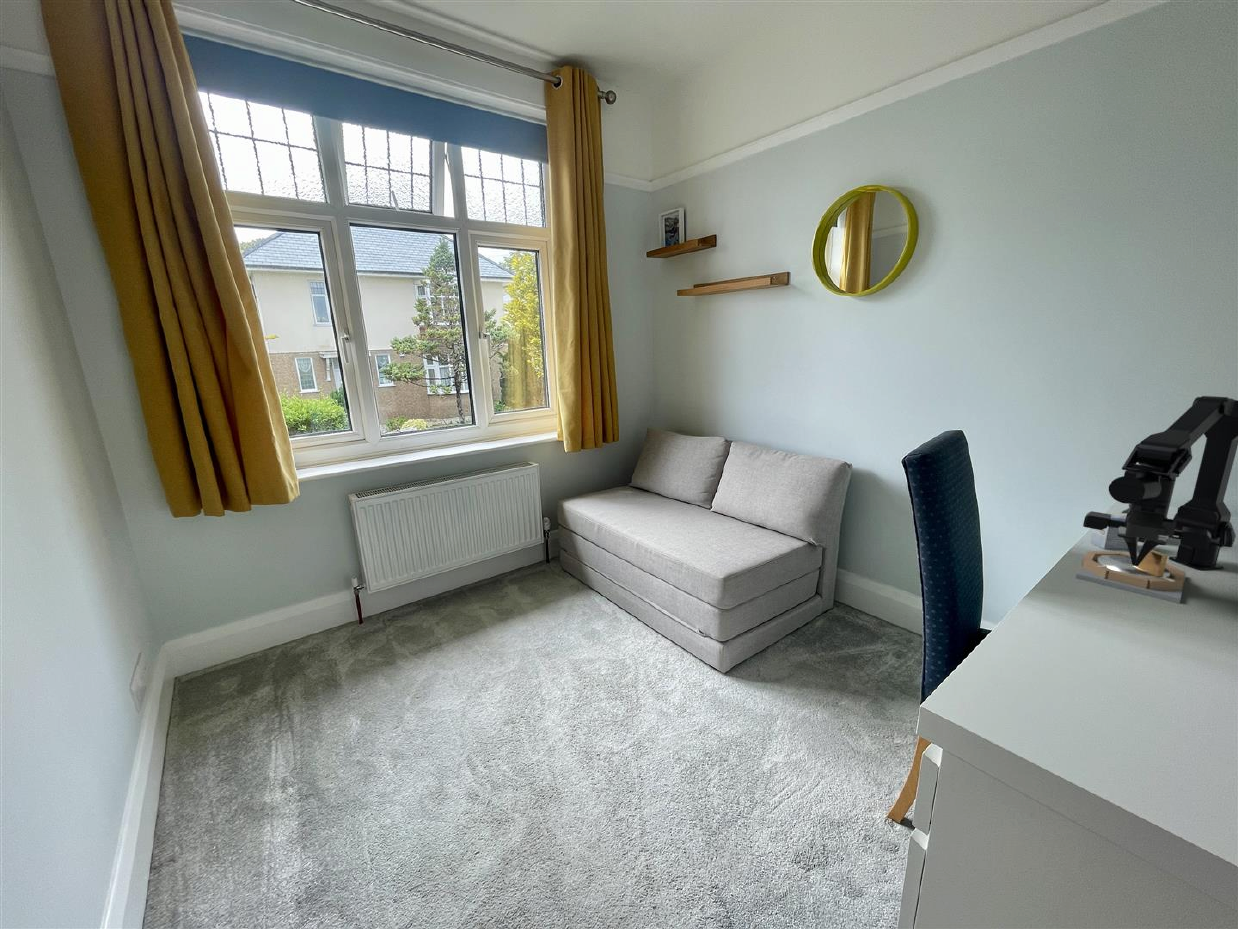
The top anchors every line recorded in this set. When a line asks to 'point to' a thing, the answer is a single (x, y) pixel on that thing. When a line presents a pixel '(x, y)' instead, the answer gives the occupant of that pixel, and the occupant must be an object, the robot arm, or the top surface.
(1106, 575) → the dial plate
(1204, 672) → the top surface
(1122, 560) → the dial
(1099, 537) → the medicine box
